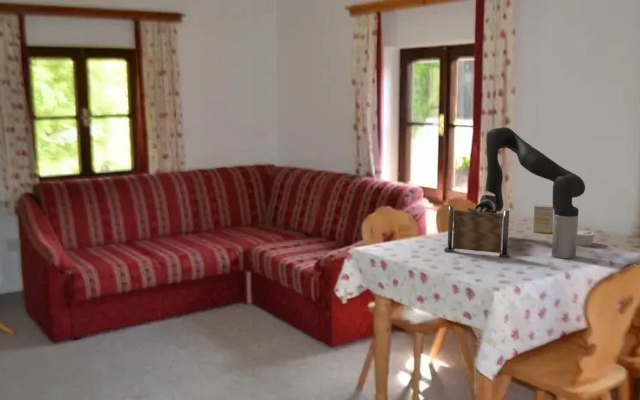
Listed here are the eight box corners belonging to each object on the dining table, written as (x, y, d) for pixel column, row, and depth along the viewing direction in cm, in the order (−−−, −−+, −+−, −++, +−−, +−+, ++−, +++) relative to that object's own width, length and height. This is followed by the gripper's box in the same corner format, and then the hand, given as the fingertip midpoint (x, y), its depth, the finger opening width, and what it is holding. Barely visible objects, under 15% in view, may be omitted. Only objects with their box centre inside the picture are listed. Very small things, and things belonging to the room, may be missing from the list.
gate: (501, 252, 272) (502, 213, 270) (500, 253, 270) (501, 214, 267) (453, 247, 280) (455, 210, 277) (452, 248, 278) (454, 211, 275)
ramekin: (596, 247, 288) (597, 235, 287) (569, 246, 290) (569, 234, 289) (591, 241, 299) (591, 230, 298) (565, 240, 301) (565, 229, 300)
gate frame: (509, 256, 272) (511, 210, 269) (508, 258, 268) (510, 211, 265) (446, 249, 282) (447, 205, 279) (444, 251, 279) (445, 207, 276)
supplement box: (552, 232, 319) (554, 205, 317) (550, 234, 315) (551, 206, 313) (535, 230, 323) (536, 203, 321) (532, 232, 319) (534, 205, 317)
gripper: (470, 199, 296) (463, 205, 281) (501, 201, 291) (495, 208, 275) (470, 215, 298) (462, 223, 282) (500, 218, 292) (493, 226, 277)
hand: (478, 215), depth 279 cm, fingers closed
